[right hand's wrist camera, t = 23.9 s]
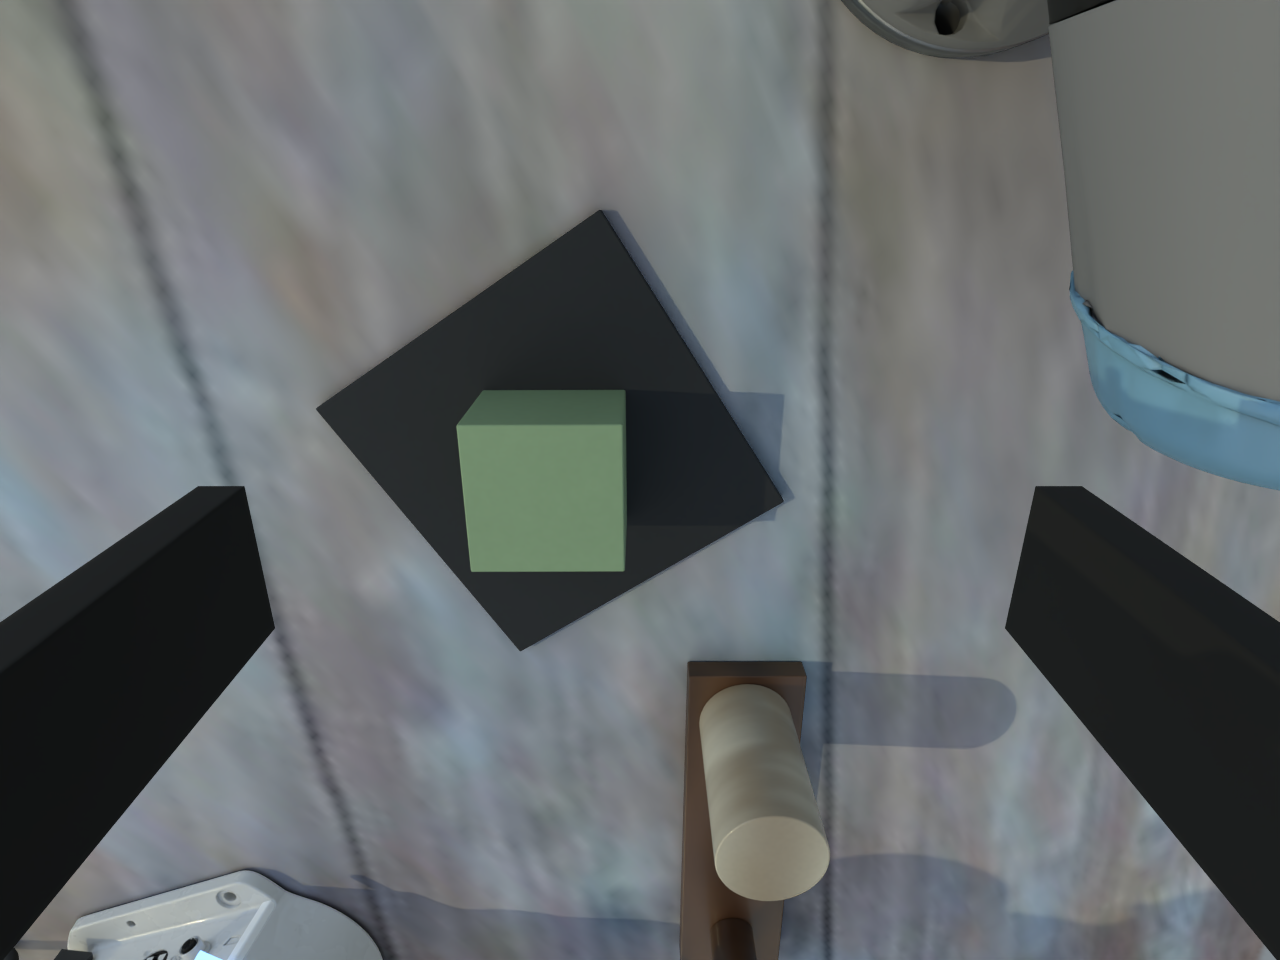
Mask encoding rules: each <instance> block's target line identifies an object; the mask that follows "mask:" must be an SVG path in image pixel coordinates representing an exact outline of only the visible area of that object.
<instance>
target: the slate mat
mask: <svg viewBox="0 0 1280 960" xmlns="http://www.w3.org/2000/svg"><path fill="white" fill-rule="evenodd" d="M483 390H625V391H626V479H627V529H626V555H625V570H624V571H578V572H472V571H471V567H470V557H469V547H468V537H467V527H466V517H465V507H464V497H463V487H462V477H461V467H460V457H459V447H458V437H457V427H456V426H457V424H458V423H459V422H460V420H461V419H462V418H463V416H464V415H465V414H466V412H467V411H468V410H469V408H470V407H471V406H472V404H473V403H474V402H475V400H476V399H477V398H478V396H479V395H480V394H481V392H482V391H483ZM316 410H317V411H318V412H319V413H320V415H321V416H322V417H323V418H324V419H325V421H326V422H327V423H328V424H329V425H330V426H331V428H332V429H333V430H334V431H335V432H336V434H337V435H338V436H339V437H340V438H341V440H342V441H343V442H344V443H345V444H346V445H347V447H348V448H349V449H350V450H351V451H352V453H353V454H354V455H355V456H356V457H357V459H358V460H359V461H360V462H361V463H362V464H363V466H364V467H365V468H366V469H367V470H368V472H369V473H370V474H371V475H372V476H373V477H374V479H375V480H376V481H377V482H378V483H379V485H380V486H381V487H382V488H383V489H384V491H385V492H386V493H387V494H388V495H389V496H390V498H391V499H392V500H393V501H394V502H395V504H396V505H397V506H398V507H399V508H400V509H401V511H402V512H403V513H404V514H405V515H406V517H407V518H408V519H409V520H410V521H411V523H412V524H413V525H414V526H415V527H416V528H417V530H418V531H419V532H420V533H421V534H422V536H423V537H424V538H425V539H426V540H427V541H428V543H429V544H430V545H431V546H432V547H433V549H434V550H435V551H436V552H437V553H438V555H439V556H440V557H441V558H442V559H443V560H444V562H445V563H446V564H447V565H448V566H449V568H450V569H451V570H452V571H453V572H454V573H455V575H456V576H457V577H458V578H459V579H460V581H461V582H462V583H463V584H464V585H465V587H466V588H467V589H468V590H469V591H470V592H471V594H472V595H473V596H474V597H475V598H476V600H477V601H478V602H479V603H480V604H481V606H482V607H483V608H484V609H485V610H486V611H487V613H488V614H489V615H490V616H491V617H492V619H493V620H494V621H495V622H496V623H497V624H498V626H499V627H500V628H501V629H502V630H503V632H504V633H505V634H506V635H507V636H508V638H509V639H510V640H511V641H512V642H513V643H514V645H515V646H516V647H517V648H518V649H519V651H522V650H524V649H525V648H527V647H529V646H531V645H532V644H534V643H536V642H538V641H540V640H541V639H543V638H545V637H547V636H548V635H550V634H552V633H554V632H555V631H557V630H559V629H561V628H562V627H564V626H566V625H568V624H569V623H571V622H573V621H575V620H576V619H578V618H580V617H582V616H583V615H585V614H587V613H589V612H591V611H592V610H594V609H596V608H598V607H599V606H601V605H603V604H605V603H606V602H608V601H610V600H612V599H613V598H615V597H617V596H619V595H620V594H622V593H624V592H626V591H627V590H629V589H631V588H633V587H634V586H636V585H638V584H640V583H641V582H643V581H645V580H647V579H649V578H650V577H652V576H654V575H656V574H657V573H659V572H661V571H663V570H664V569H666V568H668V567H670V566H671V565H673V564H675V563H677V562H678V561H680V560H682V559H684V558H685V557H687V556H689V555H691V554H692V553H694V552H696V551H698V550H700V549H701V548H703V547H705V546H707V545H708V544H710V543H712V542H714V541H715V540H717V539H719V538H721V537H722V536H724V535H726V534H728V533H729V532H731V531H733V530H735V529H736V528H738V527H740V526H742V525H743V524H745V523H747V522H749V521H751V520H752V519H754V518H756V517H758V516H759V515H761V514H763V513H765V512H766V511H768V510H770V509H772V508H773V507H775V506H777V505H779V504H780V503H782V502H783V499H782V497H781V495H780V493H779V492H778V490H777V489H776V487H775V486H774V484H773V482H772V481H771V479H770V478H769V476H768V474H767V473H766V471H765V470H764V468H763V466H762V465H761V463H760V462H759V460H758V458H757V457H756V455H755V454H754V452H753V451H752V449H751V447H750V446H749V444H748V443H747V441H746V439H745V438H744V436H743V435H742V433H741V431H740V430H739V428H738V427H737V425H736V423H735V422H734V420H733V419H732V417H731V416H730V414H729V412H728V411H727V409H726V408H725V406H724V404H723V403H722V401H721V400H720V398H719V396H718V395H717V393H716V392H715V390H714V388H713V387H712V385H711V384H710V382H709V381H708V379H707V377H706V376H705V374H704V373H703V371H702V369H701V368H700V366H699V365H698V363H697V361H696V360H695V358H694V357H693V355H692V354H691V352H690V350H689V349H688V347H687V346H686V344H685V342H684V341H683V339H682V338H681V336H680V334H679V333H678V331H677V330H676V328H675V326H674V325H673V323H672V322H671V320H670V319H669V317H668V315H667V314H666V312H665V311H664V309H663V307H662V306H661V304H660V303H659V301H658V299H657V298H656V296H655V295H654V293H653V291H652V290H651V288H650V287H649V285H648V284H647V282H646V280H645V279H644V277H643V276H642V274H641V272H640V271H639V269H638V268H637V266H636V264H635V263H634V261H633V260H632V258H631V256H630V255H629V253H628V252H627V250H626V249H625V247H624V245H623V244H622V242H621V241H620V239H619V237H618V236H617V234H616V233H615V231H614V229H613V228H612V226H611V225H610V223H609V221H608V220H607V218H606V217H605V215H604V214H603V212H602V210H599V211H597V212H596V213H594V214H593V215H592V216H590V217H589V218H587V219H586V220H584V221H583V222H582V223H580V224H579V225H577V226H576V227H574V228H573V229H572V230H570V231H569V232H567V233H566V234H564V235H563V236H562V237H560V238H559V239H557V240H556V241H554V242H553V243H552V244H550V245H549V246H547V247H546V248H544V249H543V250H542V251H540V252H539V253H537V254H536V255H534V256H533V257H532V258H530V259H529V260H527V261H526V262H524V263H523V264H522V265H520V266H519V267H517V268H516V269H514V270H513V271H512V272H510V273H509V274H507V275H506V276H504V277H503V278H502V279H500V280H499V281H497V282H496V283H495V284H493V285H492V286H490V287H489V288H487V289H486V290H485V291H483V292H482V293H480V294H479V295H477V296H476V297H475V298H473V299H472V300H470V301H469V302H467V303H466V304H465V305H463V306H462V307H460V308H459V309H457V310H456V311H455V312H453V313H452V314H450V315H449V316H447V317H446V318H445V319H443V320H442V321H440V322H439V323H437V324H436V325H435V326H433V327H432V328H430V329H429V330H427V331H426V332H425V333H423V334H422V335H420V336H419V337H417V338H416V339H415V340H413V341H412V342H410V343H409V344H407V345H406V346H405V347H403V348H402V349H400V350H399V351H397V352H396V353H395V354H393V355H392V356H390V357H389V358H387V359H386V360H385V361H383V362H382V363H380V364H379V365H377V366H376V367H375V368H373V369H372V370H370V371H369V372H367V373H366V374H365V375H363V376H362V377H360V378H359V379H357V380H356V381H355V382H353V383H352V384H350V385H349V386H347V387H346V388H345V389H343V390H342V391H340V392H339V393H337V394H336V395H335V396H333V397H332V398H330V399H329V400H327V401H326V402H325V403H323V404H322V405H320V406H319V407H317V408H316Z"/></svg>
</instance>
